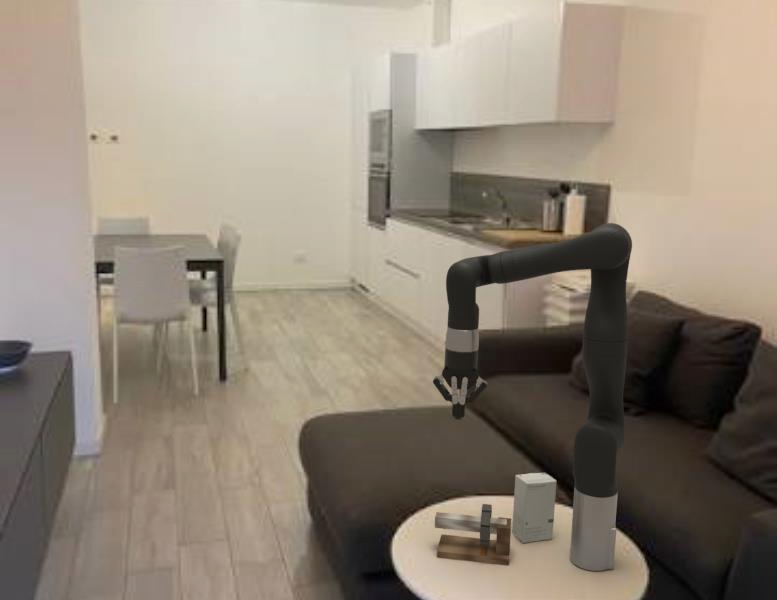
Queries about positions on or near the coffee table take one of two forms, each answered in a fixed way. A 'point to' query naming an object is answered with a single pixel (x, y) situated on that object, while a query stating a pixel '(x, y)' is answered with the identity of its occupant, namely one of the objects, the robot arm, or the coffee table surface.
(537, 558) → the coffee table surface
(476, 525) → the pipe stand
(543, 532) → the skincare box
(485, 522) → the o ring
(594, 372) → the robot arm
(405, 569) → the coffee table surface
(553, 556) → the coffee table surface
